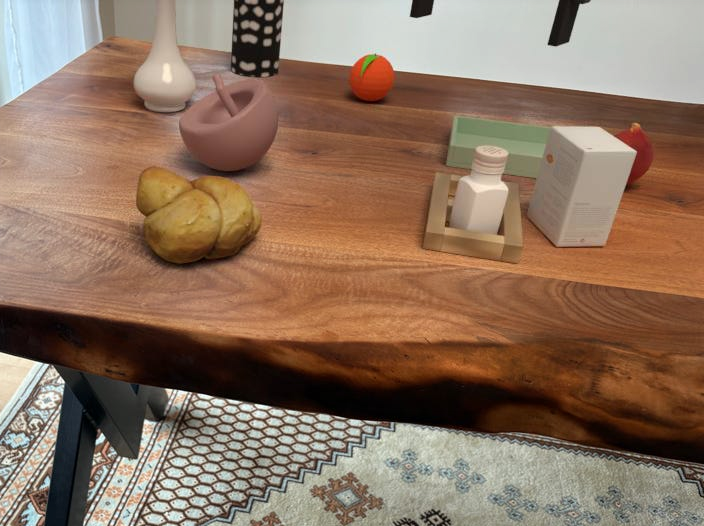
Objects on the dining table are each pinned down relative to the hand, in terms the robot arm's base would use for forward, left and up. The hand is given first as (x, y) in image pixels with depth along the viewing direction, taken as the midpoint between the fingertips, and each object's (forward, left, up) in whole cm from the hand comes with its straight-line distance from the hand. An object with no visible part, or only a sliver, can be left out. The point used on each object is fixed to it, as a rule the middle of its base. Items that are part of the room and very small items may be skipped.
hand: (485, 29), depth 69 cm
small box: (-13, -7, -21) cm, 26 cm away
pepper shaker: (-3, -2, -21) cm, 22 cm away
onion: (-21, -24, -21) cm, 38 cm away
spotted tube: (+35, -57, -21) cm, 70 cm away
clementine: (+14, -47, -21) cm, 54 cm away
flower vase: (+42, -32, -21) cm, 57 cm away
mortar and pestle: (+27, -11, -21) cm, 36 cm away
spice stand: (-3, -6, -21) cm, 22 cm away
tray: (-7, -29, -21) cm, 37 cm away
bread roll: (+23, +11, -21) cm, 33 cm away
